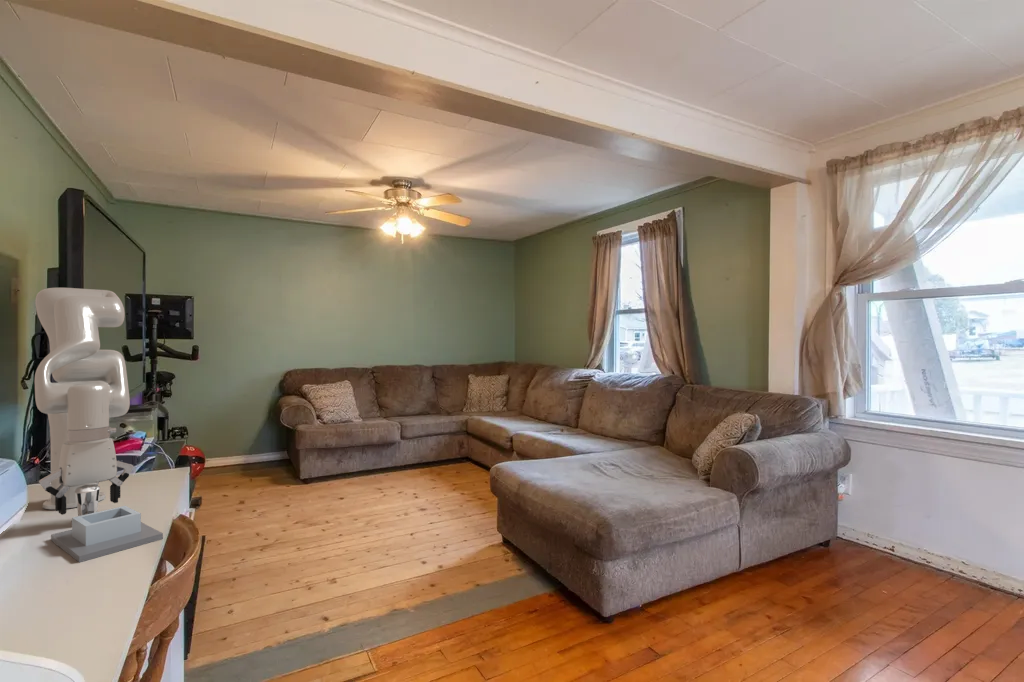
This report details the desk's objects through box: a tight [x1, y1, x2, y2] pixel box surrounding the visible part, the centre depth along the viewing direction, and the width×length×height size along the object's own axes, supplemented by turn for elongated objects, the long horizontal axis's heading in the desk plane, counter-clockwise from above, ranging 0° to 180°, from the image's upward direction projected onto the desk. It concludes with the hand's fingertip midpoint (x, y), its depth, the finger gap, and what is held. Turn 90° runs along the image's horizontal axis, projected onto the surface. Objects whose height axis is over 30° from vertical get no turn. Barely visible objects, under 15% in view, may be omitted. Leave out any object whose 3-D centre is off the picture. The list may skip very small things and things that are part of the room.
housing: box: [50, 505, 164, 563], centre depth 107 cm, size 20×14×5 cm
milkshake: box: [75, 482, 101, 516], centre depth 117 cm, size 5×5×10 cm
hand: (89, 507), depth 117 cm, fingers open, 9 cm apart
